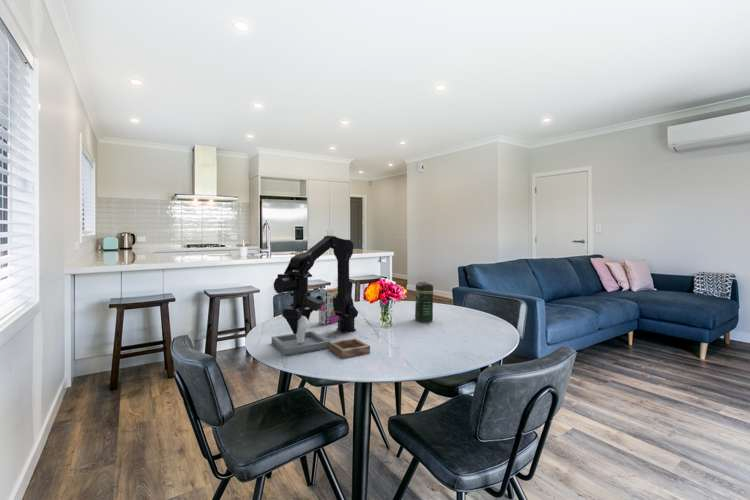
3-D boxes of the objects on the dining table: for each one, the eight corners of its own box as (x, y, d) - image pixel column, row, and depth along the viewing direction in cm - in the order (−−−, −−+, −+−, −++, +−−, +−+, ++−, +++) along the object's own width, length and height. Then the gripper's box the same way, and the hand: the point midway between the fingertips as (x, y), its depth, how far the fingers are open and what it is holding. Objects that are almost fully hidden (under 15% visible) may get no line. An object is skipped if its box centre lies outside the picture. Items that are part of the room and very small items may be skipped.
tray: (312, 336, 156) (312, 330, 156) (330, 348, 141) (330, 341, 141) (271, 343, 147) (271, 336, 147) (286, 356, 132) (286, 349, 132)
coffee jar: (434, 322, 181) (435, 283, 180) (418, 322, 180) (419, 284, 178) (428, 317, 190) (429, 280, 189) (413, 317, 189) (413, 281, 188)
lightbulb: (300, 347, 140) (300, 318, 139) (288, 344, 143) (288, 316, 142) (312, 343, 145) (311, 315, 144) (300, 340, 148) (299, 312, 147)
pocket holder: (355, 344, 146) (355, 338, 146) (370, 352, 137) (370, 345, 136) (329, 349, 140) (329, 342, 140) (342, 358, 131) (342, 351, 131)
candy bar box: (326, 325, 173) (326, 290, 172) (318, 323, 176) (318, 288, 175) (342, 320, 182) (342, 286, 181) (334, 319, 185) (334, 285, 184)
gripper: (310, 295, 132) (310, 339, 133) (329, 286, 150) (329, 325, 151) (281, 293, 134) (281, 336, 135) (302, 285, 153) (302, 323, 154)
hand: (300, 330), depth 144 cm, fingers open, 9 cm apart
